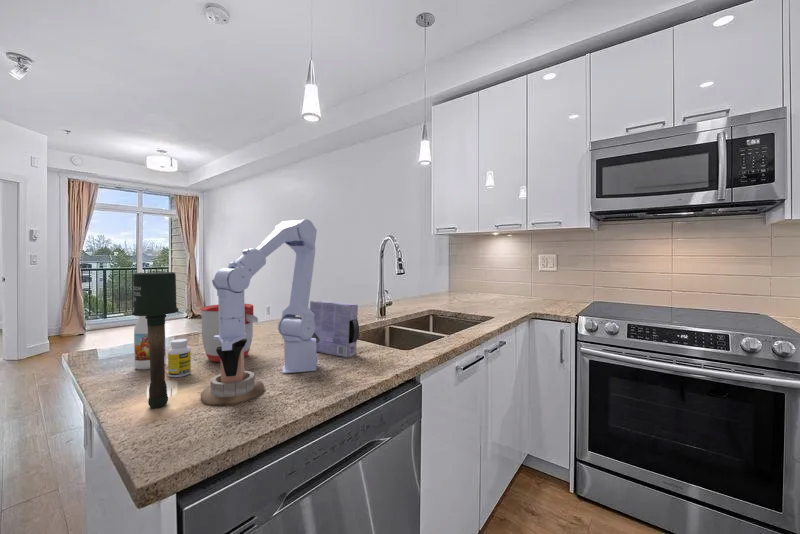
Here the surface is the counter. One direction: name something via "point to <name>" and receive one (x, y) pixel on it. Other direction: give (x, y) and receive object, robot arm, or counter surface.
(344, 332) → the cake pan box
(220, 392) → the collar
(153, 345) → the potato masher grenade
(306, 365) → the robot arm
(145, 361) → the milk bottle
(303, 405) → the counter surface
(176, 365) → the supplement bottle
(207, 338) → the citrus juicer
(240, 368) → the peg
